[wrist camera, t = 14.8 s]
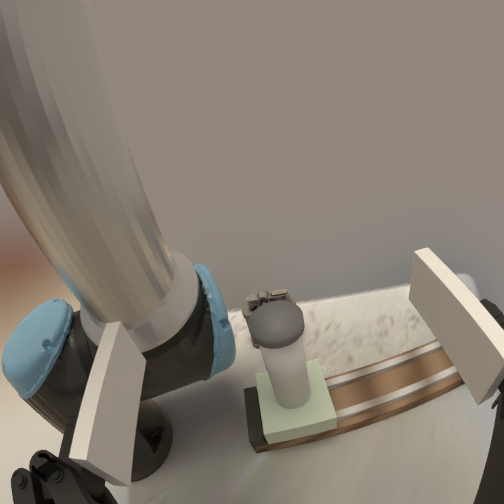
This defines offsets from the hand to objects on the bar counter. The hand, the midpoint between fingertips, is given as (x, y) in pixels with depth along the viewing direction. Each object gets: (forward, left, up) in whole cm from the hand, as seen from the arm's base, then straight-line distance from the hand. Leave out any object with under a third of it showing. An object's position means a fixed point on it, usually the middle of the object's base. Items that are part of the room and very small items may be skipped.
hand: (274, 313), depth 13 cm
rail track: (-4, +13, -29) cm, 31 cm away
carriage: (-9, +5, -25) cm, 27 cm away
